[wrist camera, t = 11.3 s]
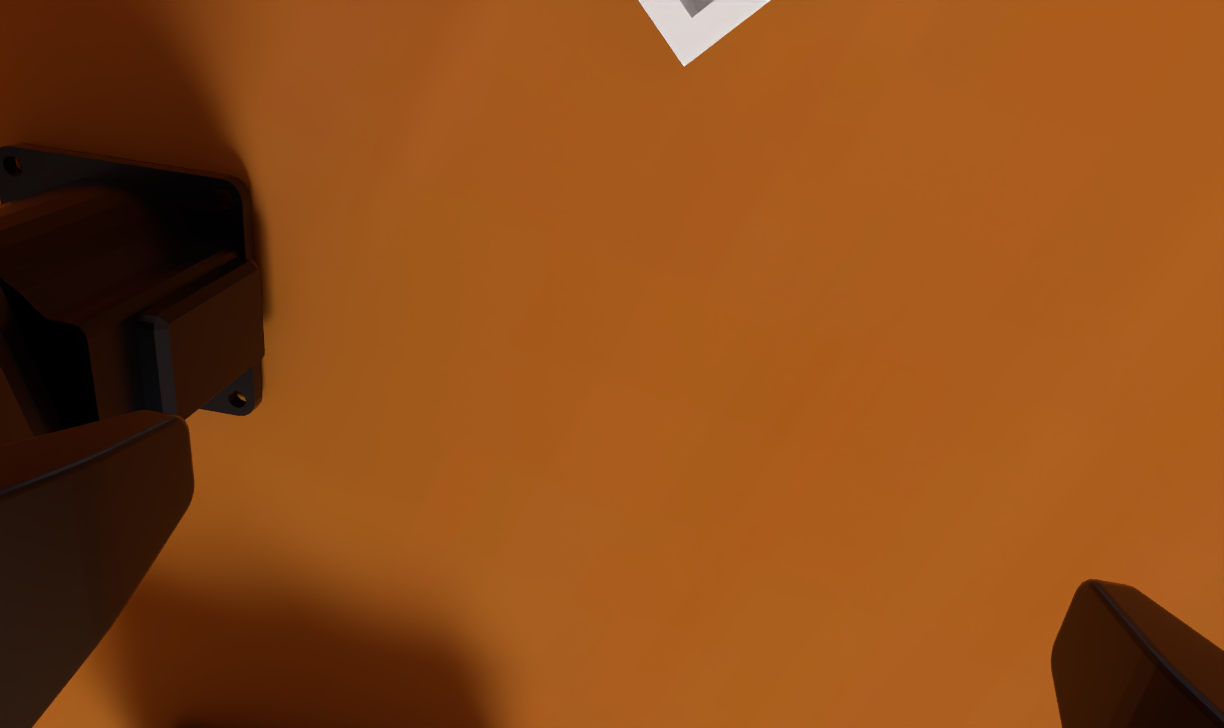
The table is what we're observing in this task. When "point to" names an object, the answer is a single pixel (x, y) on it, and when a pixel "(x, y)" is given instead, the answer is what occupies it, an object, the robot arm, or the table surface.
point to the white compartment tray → (697, 22)
